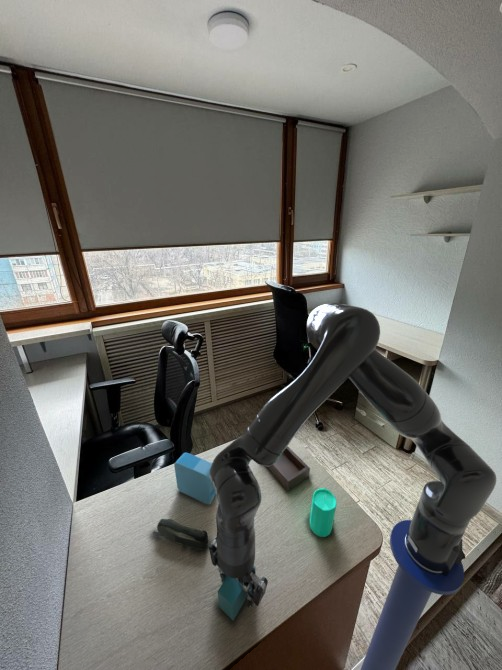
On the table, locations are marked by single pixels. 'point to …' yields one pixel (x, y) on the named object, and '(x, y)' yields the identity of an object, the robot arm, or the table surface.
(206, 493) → the data package
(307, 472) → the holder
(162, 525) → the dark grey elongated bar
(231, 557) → the robot arm
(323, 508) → the candle
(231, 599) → the block
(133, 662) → the table surface
